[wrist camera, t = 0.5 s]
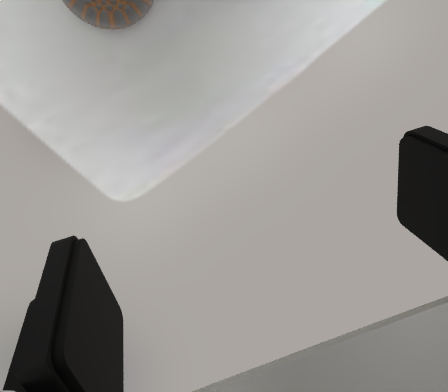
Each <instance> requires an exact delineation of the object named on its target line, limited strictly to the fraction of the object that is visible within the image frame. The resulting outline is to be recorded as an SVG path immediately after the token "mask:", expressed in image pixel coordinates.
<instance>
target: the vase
mask: <svg viewBox="0 0 448 392" xmlns="http://www.w3.org/2000/svg"><path fill="white" fill-rule="evenodd" d="M62 1H63V2H64V3H65V5H66V6H67V7H68V8H69V9H70V10H71V11H72V12H73V13H74V14H75V15H76V16H77V17H79V18H80V19H82V20H83V21H85V22H87V23H88V24H91V25H93V26H96V27H99V28H103V29H120V28H125V27H128V26H130V25H132V24H134V23H136V22H137V21H139V20H140V19H141V18H142V17H143V16H144V15H145V14H146V13H147V12H148V10H149V9H150V7H151V5H152V3H153V1H154V0H62Z"/></svg>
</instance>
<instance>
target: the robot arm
mask: <svg viewBox="0 0 448 392" xmlns="http://www.w3.org/2000/svg"><path fill="white" fill-rule="evenodd" d="M397 217H398V219H399V221H400V223H401V224H402V225H403V226H404V227H405V228H407V229H408V230H409V231H410V232H412V233H413V234H414V235H416V236H417V237H418V238H419V239H421V240H422V241H423V242H424V243H426V244H427V245H428V246H429V247H431V248H432V249H433V250H434V251H436V252H437V253H438V254H439V255H441V256H442V257H443V258H444V259H446V260H447V261H448V134H447V133H444V132H442V131H440V130H437V129H435V128H432V127H429V126H424V127H421V128H417V129H414V130H411V131H408V132H406V133H405V134H404V137H403V138H402V139H401V140H400V143H399V169H398V196H397ZM1 392H123V316H122V312H121V309H120V306H119V305H118V302H117V301H116V298H115V296H114V294H113V293H112V291H111V289H110V287H109V285H108V283H107V281H106V279H105V277H104V275H103V273H102V271H101V269H100V267H99V265H98V263H97V261H96V259H95V257H94V255H93V253H92V251H91V249H90V247H89V245H88V243H87V242H86V240H85V239H79V240H78V238H76V236H71V237H68V238H65V239H61V240H58V241H55V242H53V243H52V244H51V246H50V250H49V253H48V256H47V260H46V264H45V267H44V270H43V273H42V277H41V280H40V284H39V287H38V291H37V294H36V298H35V299H34V300H33V301H31V302H30V305H29V307H28V310H27V313H26V316H25V319H24V323H23V326H22V329H21V332H20V336H19V339H18V343H17V346H16V349H15V352H14V355H13V359H12V362H11V365H10V368H9V372H8V375H7V378H6V381H5V385H4V388H3V391H1ZM193 392H448V296H447V297H444V298H441V299H438V300H436V301H433V302H430V303H428V304H425V305H422V306H419V307H417V308H414V309H411V310H409V311H406V312H403V313H400V314H398V315H395V316H392V317H390V318H387V319H384V320H381V321H379V322H376V323H373V324H371V325H368V326H366V327H363V328H360V329H358V330H355V331H352V332H349V333H346V334H344V335H341V336H338V337H336V338H333V339H331V340H328V341H325V342H323V343H320V344H317V345H314V346H312V347H309V348H306V349H304V350H301V351H298V352H296V353H293V354H290V355H288V356H285V357H283V358H280V359H277V360H274V361H272V362H269V363H266V364H264V365H261V366H259V367H256V368H253V369H250V370H248V371H245V372H242V373H240V374H237V375H235V376H232V377H229V378H227V379H224V380H221V381H219V382H216V383H213V384H211V385H208V386H206V387H203V388H200V389H198V390H195V391H193Z"/></svg>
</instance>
